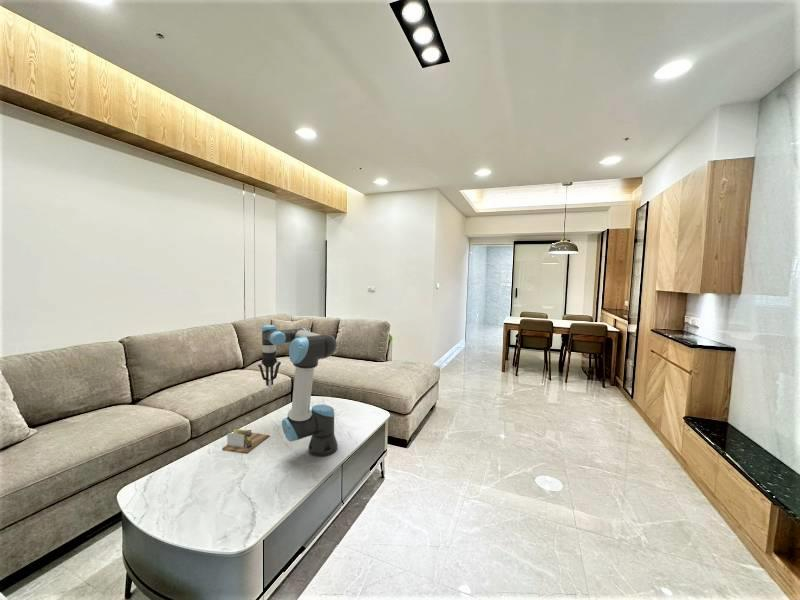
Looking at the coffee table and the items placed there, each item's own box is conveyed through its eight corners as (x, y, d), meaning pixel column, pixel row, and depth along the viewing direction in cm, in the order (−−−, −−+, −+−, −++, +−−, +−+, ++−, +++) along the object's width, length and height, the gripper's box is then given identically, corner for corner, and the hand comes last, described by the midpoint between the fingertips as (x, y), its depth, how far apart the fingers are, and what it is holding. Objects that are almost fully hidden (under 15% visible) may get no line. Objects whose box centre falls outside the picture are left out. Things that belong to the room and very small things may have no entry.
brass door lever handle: (254, 443, 177) (254, 431, 177) (249, 447, 173) (249, 434, 173) (235, 440, 180) (234, 428, 179) (229, 444, 176) (229, 432, 175)
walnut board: (269, 436, 188) (269, 435, 188) (246, 453, 169) (246, 451, 169) (246, 433, 191) (246, 432, 191) (222, 450, 173) (222, 448, 173)
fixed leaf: (252, 445, 176) (252, 430, 175) (247, 449, 172) (247, 433, 171) (233, 442, 178) (232, 427, 178) (227, 446, 174) (227, 430, 174)
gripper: (279, 349, 199) (279, 387, 200) (256, 351, 192) (256, 390, 193) (282, 351, 193) (282, 390, 194) (258, 353, 185) (258, 394, 187)
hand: (269, 390), depth 194 cm, fingers closed
